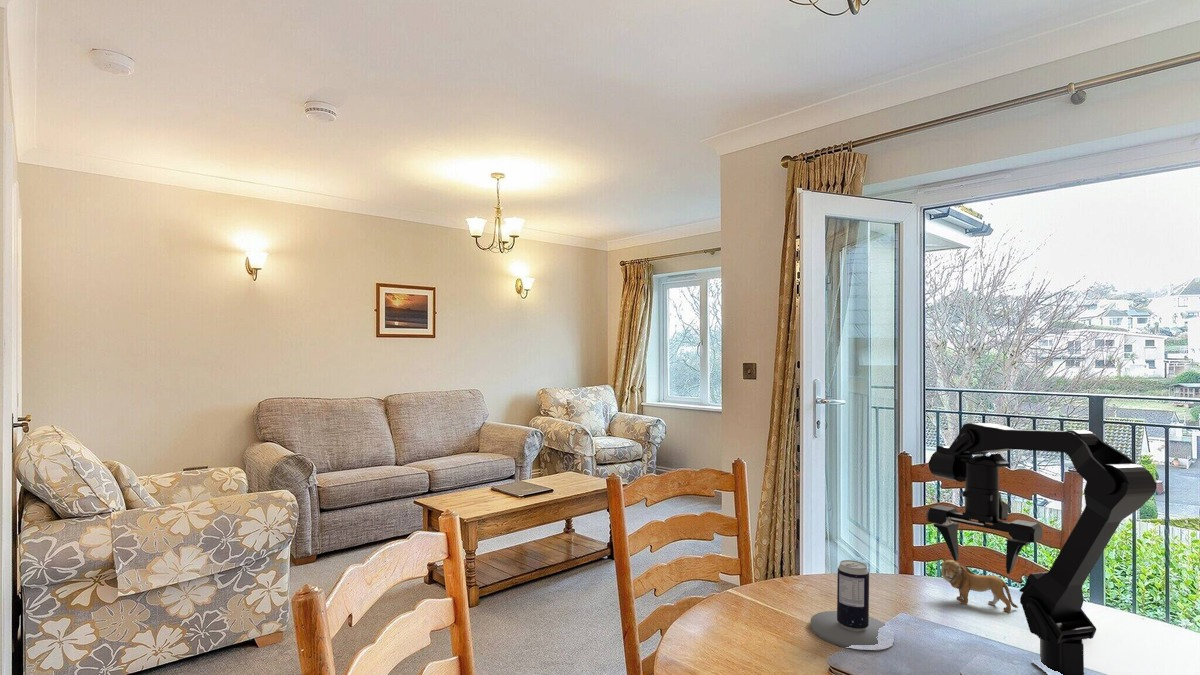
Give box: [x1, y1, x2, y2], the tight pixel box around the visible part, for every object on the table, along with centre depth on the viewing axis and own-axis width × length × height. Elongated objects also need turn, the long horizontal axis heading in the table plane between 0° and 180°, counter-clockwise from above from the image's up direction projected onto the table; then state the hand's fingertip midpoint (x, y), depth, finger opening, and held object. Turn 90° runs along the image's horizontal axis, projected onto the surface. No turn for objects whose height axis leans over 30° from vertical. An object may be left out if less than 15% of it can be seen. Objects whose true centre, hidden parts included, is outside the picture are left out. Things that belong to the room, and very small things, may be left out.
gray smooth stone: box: [810, 610, 886, 649], centre depth 118 cm, size 15×15×1 cm
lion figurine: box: [940, 559, 1019, 613], centre depth 134 cm, size 15×5×9 cm, turn 70°
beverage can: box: [836, 559, 870, 631], centre depth 118 cm, size 6×6×12 cm
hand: (981, 566), depth 119 cm, fingers open, 9 cm apart
